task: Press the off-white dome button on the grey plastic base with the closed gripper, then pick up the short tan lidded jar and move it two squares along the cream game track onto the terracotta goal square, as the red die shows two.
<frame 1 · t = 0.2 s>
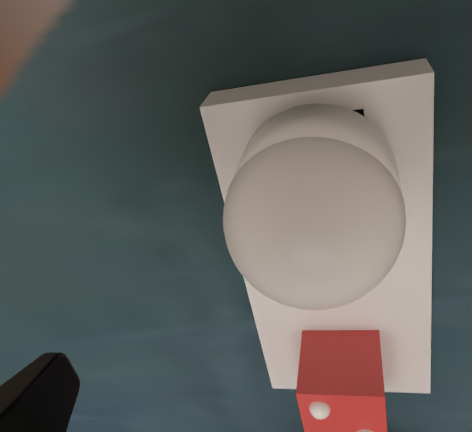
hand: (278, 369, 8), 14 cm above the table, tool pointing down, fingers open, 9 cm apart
dome button: (313, 204, 16), point 5 cm above the table, slide at 0.0 cm
dome base: (332, 247, 24), on the table
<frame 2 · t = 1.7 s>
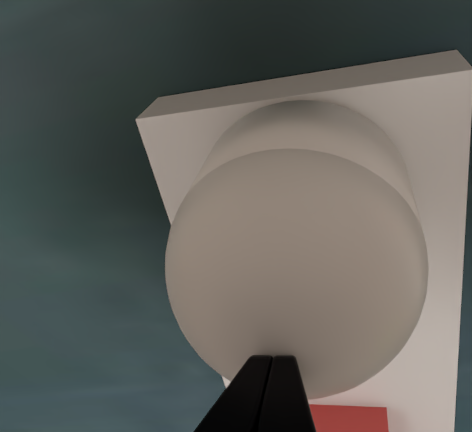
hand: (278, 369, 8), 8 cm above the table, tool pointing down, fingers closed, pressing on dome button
dome button: (295, 240, 12), point 4 cm above the table, slide at 1.2 cm, touching gripper
dome base: (326, 298, 18), on the table
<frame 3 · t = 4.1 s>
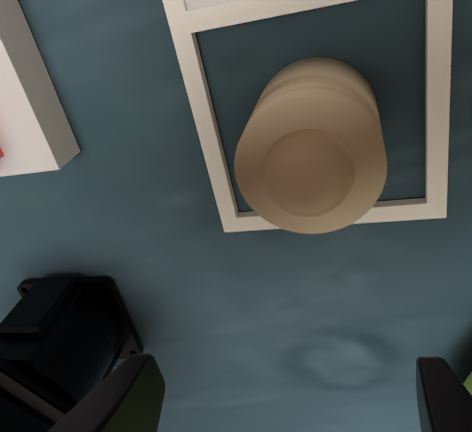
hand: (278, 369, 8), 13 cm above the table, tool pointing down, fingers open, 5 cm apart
tan lidded jar: (315, 117, 19), resting in game track
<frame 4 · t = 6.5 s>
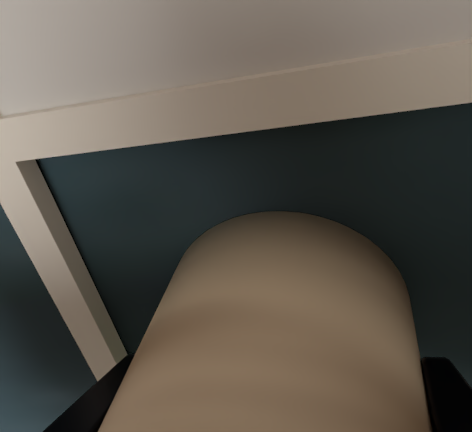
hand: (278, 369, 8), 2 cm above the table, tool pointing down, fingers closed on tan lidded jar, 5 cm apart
tan lidded jar: (286, 310, 10), resting in game track, touching gripper
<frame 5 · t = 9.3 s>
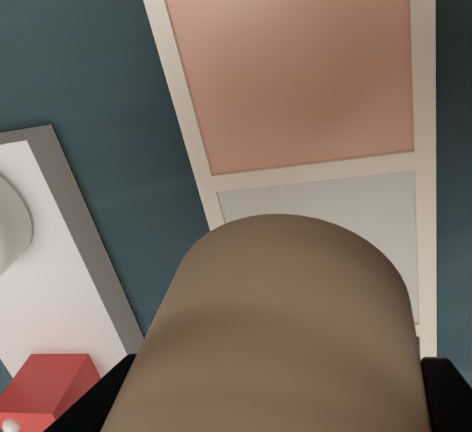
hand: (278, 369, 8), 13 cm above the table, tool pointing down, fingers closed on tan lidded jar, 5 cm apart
dome base: (49, 279, 27), on the table
tan lidded jar: (286, 312, 10), point 11 cm above the table, touching gripper
game track: (322, 255, 22), on the table
when the fingers open (3 cm above the table, at t = 12.1 s): tan lidded jar stays where it is, resting on game track.
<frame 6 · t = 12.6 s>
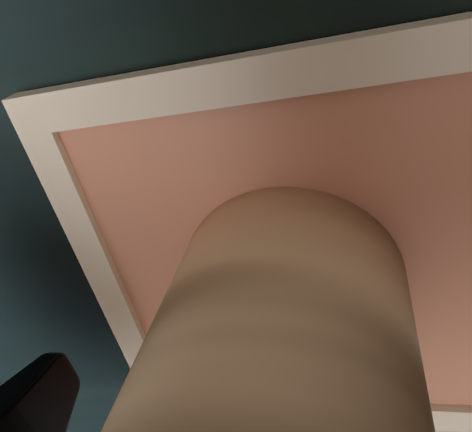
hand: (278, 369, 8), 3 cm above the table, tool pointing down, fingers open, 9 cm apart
tan lidded jar: (291, 281, 10), resting on game track
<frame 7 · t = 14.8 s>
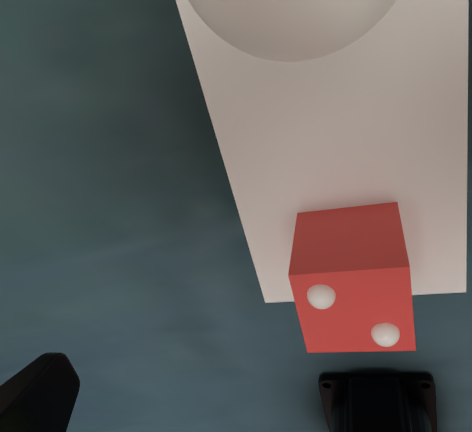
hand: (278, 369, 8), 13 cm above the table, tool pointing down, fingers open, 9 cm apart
dome base: (332, 96, 18), on the table
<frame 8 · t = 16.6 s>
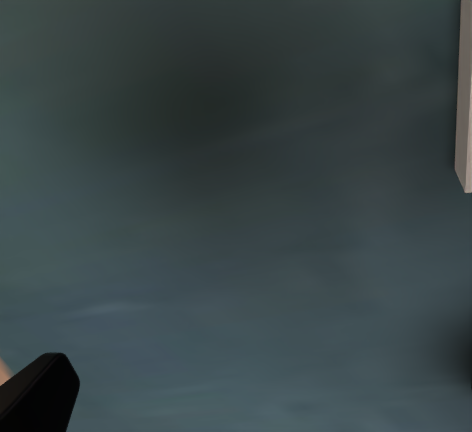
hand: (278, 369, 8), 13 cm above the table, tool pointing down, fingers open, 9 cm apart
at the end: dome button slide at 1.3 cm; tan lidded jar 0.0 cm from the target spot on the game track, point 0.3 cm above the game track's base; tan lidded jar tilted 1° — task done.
